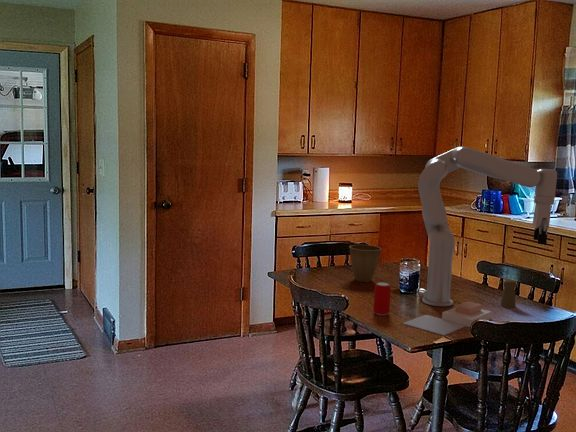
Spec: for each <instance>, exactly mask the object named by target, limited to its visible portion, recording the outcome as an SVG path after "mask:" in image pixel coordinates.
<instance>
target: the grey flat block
mask: <svg viewBox="0 0 576 432" xmlns="http://www.w3.org/2000/svg"><path fill="white" fill-rule="evenodd" d="M455 311H456V306H455V307H453V308H449V309H448V310H444V311H442V312H441V314H442V315H441V319H444V320H448V321H452V322H455V323H459V324H463V325H466V327H467V328H470V325H471V323H472V322H473V321H475V320H477V319H487V320H488V321H489V320H492V311H491V310H487V309H486V310H485V309H483V308H481V311H480V312H477V313H475V314H473V315H466V314H462V313H458V312H455Z"/></svg>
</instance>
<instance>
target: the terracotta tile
mask: <svg viewBox="0 0 576 432" xmlns="http://www.w3.org/2000/svg"><path fill="white" fill-rule="evenodd" d="M455 307H456V311H455V312H458V313H462V314H466V315H473V314H475V313H477V312H480V311H481V309H482V307H483V305H482V304H481V303H478V302H477V303H475V302H471V301H468V300H467V301H464V302H462V303H459V304H456V305H455Z"/></svg>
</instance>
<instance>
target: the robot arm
mask: <svg viewBox="0 0 576 432" xmlns="http://www.w3.org/2000/svg"><path fill="white" fill-rule="evenodd" d="M458 169H465V170H467V171H471V172H473V173H477V174H480V175H483V176H487V177H490V178H494V179H498V180H501V181H505V182H506V181H507V182H509V183H513V184H516V185H520V186H522V187H525V188H530V189H531V188H534V196H533V197H534V198H533V203H534V204H535V206H534V211H533V219H532V226H533V227H534V230H533V231H534V232H533V238H532V239H533V240H534V241H537V244H538V245H547V239H548V229H549V228H550V224H551V223H550V222H551V214H552V213H551V212H552V210H551V209H552V205H553V206H554V205H555V198H556V190H557V180H558V172H557V170H555V169H551V168H550V169H549V168H532V167H528V166H525V165H522V164H519V163H515V162H512V161H510V160H506V159H505V158H502V157H500V156H497V155H493V154H491V153H488V152H487V153H486V152H485V151H484V152H483V151H480V150H477V149H474V148H470V147H467V146H457V147H455V148H453V149H451V150H449V151H448V150H447V152H444V153H441V154H440V155H437V156H435V157H433V158H431V159H429V160H428V161H427V162H426V164H425V168H424V169H423V170H422V172H421V173H420V175H419V177H418V181H417V187H418V194H419V198H420V203H421V206H422V210H421V215H422V219H423V222H424V227H425V230H426V234H427V237H428V241H429V242H430V243H429V253H428V269H427V280H426V281H427V282H426V289H424V288H419V291H418V294H420V295H422V296H423V297H422V298H421V299H422V302H423V303H424V304H426V305H429V306H433V307H434V306H435V307H450V306H452V305H454V300H452V299H451V285H452V284H451V282H452V274H453V273H452V272H453V270H452V269H453V258H454V251H455V236H454V234H453V232H452V231H451V228H450V225H449V222H448V218H447V217H448V216H447V214H448V213H447V209H446V206H445V204H444V201H443V196H442V192H441V188H440V184H441V182H442V180H443V179H444V178H445V177H446V176H447V174H450V173H452V172H454V171H456V170H458Z"/></svg>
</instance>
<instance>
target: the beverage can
mask: <svg viewBox="0 0 576 432" xmlns="http://www.w3.org/2000/svg"><path fill="white" fill-rule="evenodd" d="M391 292H392V291H391V286H390V284H389V283H387V282H378V283H376V284H375V286H374V294H373V295H374V296H373V313H374V314H375V315H377V316H380V317H381V316H382V317H383V316H387V315H389V314H390V306H391Z"/></svg>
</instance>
